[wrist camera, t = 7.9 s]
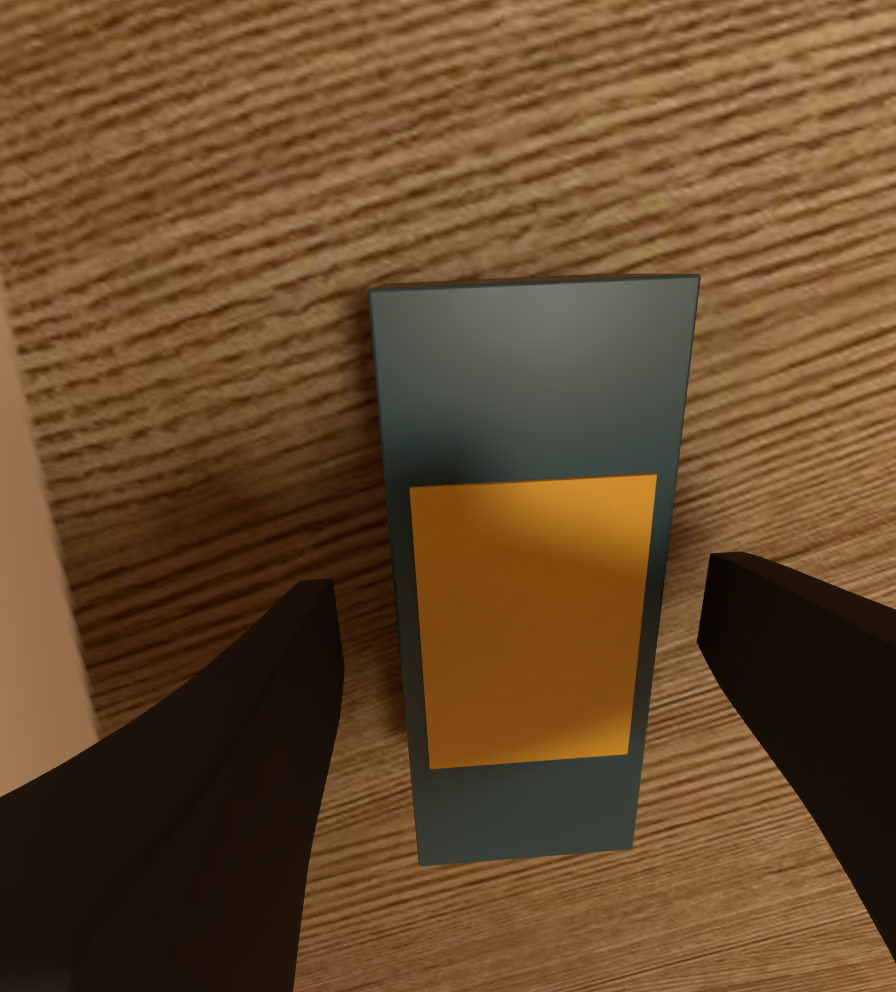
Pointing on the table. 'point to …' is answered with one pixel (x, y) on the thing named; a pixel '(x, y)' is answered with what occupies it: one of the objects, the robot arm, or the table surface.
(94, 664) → the table surface
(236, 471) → the table surface
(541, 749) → the packet
